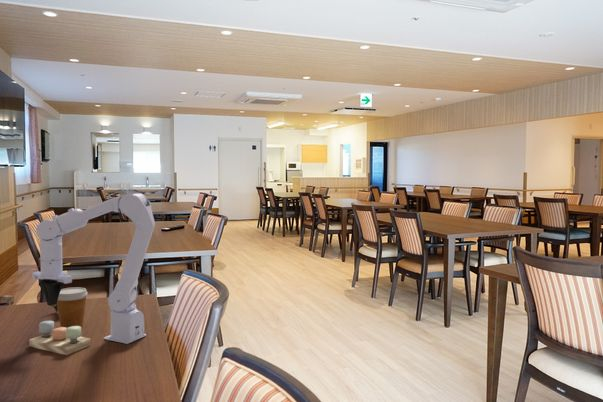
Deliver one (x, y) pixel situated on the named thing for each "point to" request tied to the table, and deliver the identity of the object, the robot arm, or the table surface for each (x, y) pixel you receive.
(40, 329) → the slate button
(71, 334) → the sage button
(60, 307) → the disposable coffee cup
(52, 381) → the table surface
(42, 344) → the button board
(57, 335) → the peach round knob
